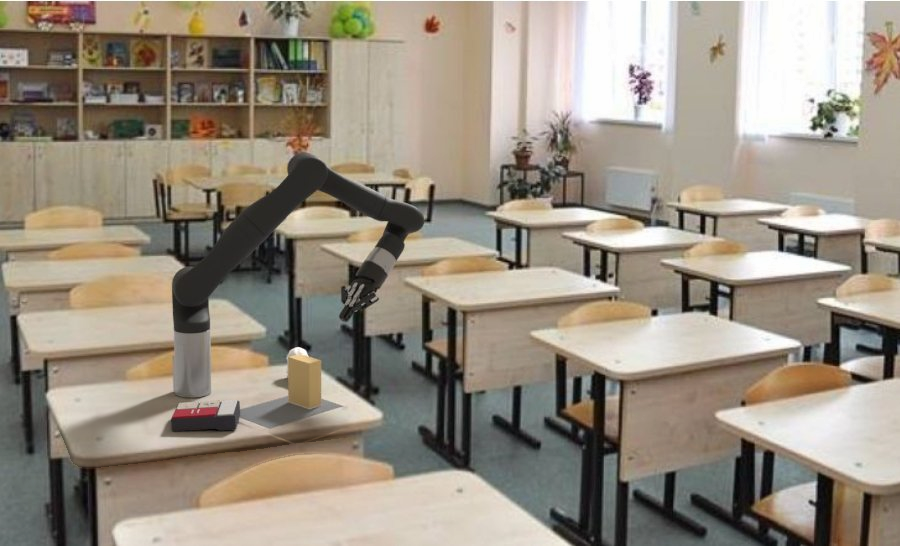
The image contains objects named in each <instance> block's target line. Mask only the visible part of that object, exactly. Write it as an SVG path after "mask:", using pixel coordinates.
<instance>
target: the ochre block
mask: <svg viewBox="0 0 900 546" xmlns="http://www.w3.org/2000/svg"><path fill="white" fill-rule="evenodd" d="M308 356H309V355H308ZM308 356H305V355H302V354H299V355H295V356H291V357H288V362H287V366H288V374H287V375H288V378H287V381H288V385H287V386H288V392H287V393H288V395H287V396H288V402H290V403H292V404H295V405H298V406H301V407H304V408H307V409H312V408H316V407H319V406H321V399H322V360H321V359H318V358H315V357H311V356H309V357H308Z"/></svg>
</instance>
